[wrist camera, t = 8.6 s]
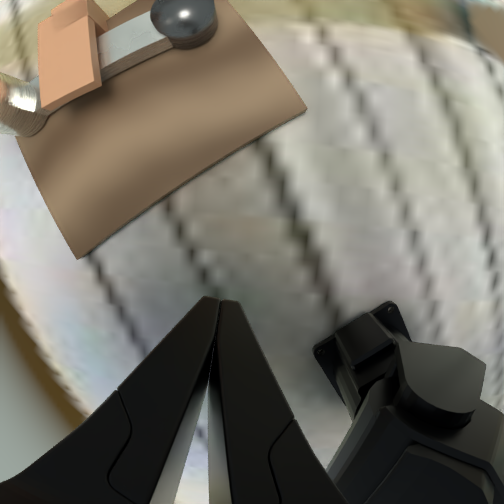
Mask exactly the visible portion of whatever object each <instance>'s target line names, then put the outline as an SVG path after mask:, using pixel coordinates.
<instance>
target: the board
mask: <svg viewBox="0 0 504 504" xmlns="http://www.w3.org/2000/svg"><path fill="white" fill-rule="evenodd" d="M155 1H156V0H137V1H135V2H134V3H132V4H131V5H129V6H128V7H126V8H124V9H123V10H121V11H120V12H118V13H117V14H115V15H114V16H113V17H111V18H110V19H108V20H107V21H106V22H107V26H108V30H109V31H110V30H112V29H113V28H115V27H117V26H119V25H121V24H123V23H125V22H127V21H129V20H131V19H133V18H135V17H138V16H140V15H142V14H144V13H146V12H148V11H151V7H152V5H153V3H154V2H155ZM214 3H215V8H216V13H217V17H218V26H217V29H216V31H215V33H214V34H213V36H212V37H211V38H210V39H209V40H208V41H206V42H205V43H203V44H201V45H199V46H196V47H193V48H188V49H179V48H174V47H173V48H170V49H168V50H165V51H163V52H161V53H159V54H156V55H154V56H152V57H150V58H148V59H146V60H143V61H141V62H139V63H137V64H135V65H133V66H131V67H129V68H127V69H125V70H123V71H121V72H119V73H118V74H116V75H114V76H112V77H110V78H108V79H106V80H105V81H103V82H102V86H101V87H98V88H96V89H94V90H92V91H90V92H87V93H85V94H83V95H81V96H79V97H77V98H75V99H73V100H71V101H69V102H68V103H66V104H65V105H63V106H62V107H60V108H59V109H57V110H56V111H54V112H53V113H51V114H50V115H49V116H48V117H47V119H46V121H45V123H44V125H43V126H42V127H41V129H40V130H39V131H38V132H37V133H35V134H34V135H32V136H29V137H21V136H15V137H16V140H17V142H18V145H19V147H20V149H21V152H22V154H23V156H24V159H25V161H26V163H27V166H28V168H29V170H30V172H31V174H32V177H33V179H34V181H35V183H36V185H37V187H38V189H39V191H40V193H41V195H42V197H43V199H44V201H45V203H46V205H47V207H48V209H49V211H50V213H51V215H52V217H53V219H54V220H55V222H56V224H57V226H58V228H59V230H60V231H61V233H62V235H63V237H64V239H65V240H66V242H67V244H68V246H69V247H70V249H71V251H72V252H73V254H74V256H75V257H76V259H77V260H78V259H80V258H82V257H84V256H85V255H87V254H88V253H89V252H90V251H92V250H93V249H94V248H96V247H97V246H98V245H99V244H101V243H102V242H103V241H105V240H106V239H107V238H109V237H110V236H111V235H113V234H114V233H115V232H117V231H118V230H119V229H121V228H122V227H123V226H125V225H126V224H127V223H129V222H130V221H132V220H133V219H134V218H136V217H137V216H139V215H140V214H141V213H143V212H144V211H146V210H147V209H148V208H150V207H151V206H153V205H154V204H156V203H157V202H158V201H160V200H161V199H163V198H164V197H166V196H167V195H169V194H170V193H172V192H173V191H175V190H176V189H178V188H179V187H181V186H182V185H184V184H185V183H187V182H188V181H190V180H191V179H193V178H194V177H196V176H197V175H199V174H200V173H202V172H203V171H205V170H207V169H208V168H210V167H211V166H213V165H215V164H216V163H218V162H219V161H221V160H223V159H224V158H226V157H227V156H229V155H231V154H232V153H234V152H236V151H237V150H239V149H241V148H242V147H244V146H246V145H247V144H249V143H251V142H252V141H254V140H256V139H258V138H259V137H261V136H263V135H265V134H266V133H268V132H270V131H272V130H273V129H275V128H277V127H279V126H280V125H282V124H284V123H286V122H288V121H289V120H291V119H293V118H295V117H297V116H299V115H301V114H302V113H304V112H305V111H306V110H307V109H308V108H307V107H306V105H305V104H304V102H303V101H302V99H301V98H300V96H299V95H298V93H297V92H296V90H295V89H294V87H293V86H292V84H291V83H290V81H289V80H288V78H287V77H286V76H285V74H284V73H283V71H282V70H281V68H280V67H279V66H278V64H277V63H276V61H275V60H274V59H273V57H272V56H271V55H270V53H269V52H268V51H267V49H266V48H265V47H264V45H263V44H262V43H261V41H260V40H259V39H258V37H257V36H256V35H255V34H254V32H253V31H252V30H251V28H250V27H249V26H248V25H247V23H246V22H245V21H244V20H243V18H242V17H241V16H240V15H239V14H238V12H237V11H236V10H235V9H234V8H233V6H232V5H231V4H230V3H229V2H228V0H214Z"/></svg>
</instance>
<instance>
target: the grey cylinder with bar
mask: <svg viewBox="0 0 504 504" xmlns="http://www.w3.org/2000/svg"><path fill="white" fill-rule="evenodd" d="M217 26H218V17H217V13H216V8H215V3H214V0H156V1H155V2H154V3H153V5H152V7H151V11H148V12H146V13H144V14H142V15H140V16H138V17H135V18H133V19H131V20H129V21H127V22H125V23H123V24H121V25H119V26H117V27H115V28H113V29H112V30H110V31H108V32H106V33H104V34H102V35H101V36H99V37H97V38H96V43H97V52H98V60H99V68H100V75H101V82H103V81H105V80H106V79H108V78H110V77H112V76H114V75H116V74H118V73H119V72H121V71H123V70H125V69H127V68H129V67H131V66H133V65H135V64H137V63H139V62H141V61H143V60H146V59H148V58H150V57H152V56H154V55H156V54H159V53H161V52H163V51H165V50H168V49H170V48H173V47H174V48H179V49H188V48H193V47H196V46H199V45H201V44H203V43H205V42H206V41H208V40H209V39H210V38H211V37H212V36H213V34H214V33H215V31H216V29H217ZM67 103H68V102H67ZM65 104H66V103H65ZM65 104H63V105H65ZM63 105H61V106H59V107H57V108H55V109H54V110H52V111H49V110H46V109H43V108H41V99H40V86H39V75H38V76H37V77H36V78H34V79H33V80H32V81H30V82H29V83H28V82H25V81H23V80H20V79H17V78H15V77H12V76H9V75H6V74H4V73H1V72H0V134H7V135H14V136H21V137H29V136H32V135H34V134H35V133H37V132H38V131H39V130H40V129H41V127H42V126H43V125H44V123H45V121H46V119H47V117H48V116H49V115H50V114H51V113H53V112H54V111H56V110H57V109H59V108H60V107H62V106H63Z"/></svg>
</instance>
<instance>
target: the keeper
mask: <svg viewBox="0 0 504 504" xmlns="http://www.w3.org/2000/svg"><path fill="white" fill-rule="evenodd" d="M51 14H52V16H50V17H49V18H47V19H45V20H44V21H42V22H40V23H39V24H38V69H39V86H40V99H41V108H43V109H46V110H49V111H52V110H54V109H55V108H57V107H59V106H61V105H63V104H65V103H67V102H69V101H71V100H73V99H75V98H77V97H79V96H81V95H83V94H85V93H87V92H90V91H92V90H94V89H96V88H98V87H101V86H102V82H101V75H100V68H99V60H98V52H97V43H96V38H97V37H99V36H101V35H102V34H104V33H106V32H108V31H109V30H108V26H107V22H106V21H107V20H108V19H110V18H109V17H108V16H107V15H106V13H105V12H104V11H103V10H102V9H101V8H100V7H99V6H98V5H97V4H96V3H95V2H94V1H93V0H66V1H64V2H63V3H61V4H60V5H58V6H57V7H55V8H53V9H52V10H51Z"/></svg>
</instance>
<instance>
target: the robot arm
mask: <svg viewBox="0 0 504 504" xmlns="http://www.w3.org/2000/svg"><path fill="white" fill-rule="evenodd" d="M220 304H221V306H220ZM390 307H392V310H391V311H389V312H388V309H389V308H390ZM219 311H220V312H219ZM218 317H219V318H218ZM217 323H218V324H217ZM216 329H217V331H216ZM215 336H216V337H215ZM214 342H215V343H214ZM213 348H214V350H213ZM320 349H322V350H323V351H322V352H321V353H317V352H318V350H320ZM313 354H314V357H315V358H316V360H317V361H318V363H319V364H320V366H321V368H322V369H323V371H324V372H325V374H326V376H327V377H328V379H329V380H330V382H331V384H332V385H333V387H334V388H335V390H336V391H337V393H338V395H339V396H340V398H341V399H342V401H343V403H344V404H345V406H346V407H347V409H348V412H349V414H350V417H351V419H352V422H353V423H352V425H351V427H350V429H349V430H348V432H347V434H346V436H345V438H344V439H343V441H342V443H341V445H340V446H339V448H338V450H337V452H336V453H335V455H334V457H333V458H332V460H331V462H330V463H329V465H328V467H327V468H326V470H325V469H324V468H323V466H322V465H321V463H320V462H319V460H318V459H317V457H316V456H315V454H314V452H313V450H312V449H311V447H310V445H309V443H308V441H307V440H306V438H305V436H304V434H303V432H302V430H301V428H300V426H299V424H298V422H297V420H296V419H294V415H293V413H292V411H291V409H290V407H289V404H288V402H287V400H286V398H285V396H284V394H283V392H282V390H281V388H280V386H279V384H278V382H277V380H276V378H275V376H274V374H273V372H272V370H271V368H270V366H269V364H268V361H267V359H266V357H265V355H264V353H263V351H262V349H261V347H260V345H259V343H258V340H257V338H256V336H255V334H254V332H253V330H252V328H251V326H250V323H249V321H248V319H247V317H246V315H245V313H244V311H243V308H242V306H241V304H240V303H239V302H238V301H233V300H227V299H223V300H222V301H221V300H220V299H219V298H216V297H210V296H203V297H202V298H201V299H200V300H199V301H198V302H197V303H196V304H195V305H194V307H193V308H192V309H191V310H190V311H189V312H188V313H187V314H186V315H185V316H184V317H183V318H182V319H181V320H180V321H179V322H178V324H177V325H176V326H175V327H174V328H173V329H172V330H171V331H170V332H169V333H168V334H167V335H166V336H165V337H164V338H163V339H162V341H161V342H160V343H159V344H158V345H157V346H156V347H155V348H154V349H153V350H152V351H151V352H150V353H149V354H148V355H147V357H146V358H145V359H144V360H143V361H142V362H141V363H140V364H139V365H138V366H137V367H136V368H135V369H134V370H133V371H132V373H131V374H130V375H129V376H128V377H127V378H126V379H125V380H124V381H123V382H122V383H121V384H120V385H119V386H118V388H117V390H118V391H117V390H115V391H114V392H113V393H112V394H111V395H110V396H109V397H108V398H107V399H106V400H105V401H104V402H103V403H102V404H101V405H100V406H99V407H98V408H97V409H96V410H95V411H94V412H93V413H92V414H91V415H90V416H89V417H88V418H87V419H86V420H85V421H84V422H83V423H82V424H80V425H79V426H78V427H77V428H76V429H75V430H73V431H72V432H71V433H70V434H69V435H68V436H66V437H65V438H64V439H63V440H61V441H60V442H59V443H58V444H56V445H55V446H54V447H53V448H51V449H50V450H49V451H48V452H47V453H45V454H44V455H43V456H41V457H40V458H39V459H38V460H36V461H35V462H34V463H33V464H31V465H30V466H29V467H27V468H26V469H25V470H23V471H22V472H21V473H19V474H17V475H16V476H14V477H12V478H10V479H8V480H6V481H3V482H1V483H0V504H174V500H175V497H176V493H177V490H178V486H179V483H180V479H181V476H182V473H183V469H184V466H185V462H186V459H187V455H188V452H189V448H190V445H191V442H192V438H193V435H194V431H195V428H196V424H197V421H198V418H199V414H200V411H201V407H202V404H203V400H204V397H205V393H206V390H207V386H208V475H209V504H504V414H503V413H502V412H500V411H499V410H497V409H495V408H494V407H492V406H491V405H489V404H487V403H486V402H484V401H482V400H481V399H480V396H481V391H482V386H483V381H484V375H485V370H486V364H485V363H484V362H482V361H481V360H479V359H478V358H476V357H474V356H473V355H471V354H470V353H468V352H467V351H465V350H463V349H462V348H458V347H449V346H441V345H432V344H424V343H417V342H412V341H411V338H410V336H409V333H408V331H407V328H406V326H405V324H404V321H403V319H402V316H401V314H400V312H399V309H398V307H397V305H396V304H395V303H394V302H392V301H388V302H386V303H385V304H383V305H381V306H380V307H378V308H377V309H375V310H374V311H372V312H370V313H366V314H364V315H363V316H361V317H359V318H358V319H356V320H354V321H353V322H351V323H350V324H348V325H346V326H345V327H343V328H341V329H339V330H338V331H336V333H335V334H334V335H332V336H331V337H329V338H327V339H325V340H324V341H322V342H320V343H318V344H317V345H315V346H314V348H313ZM212 355H213V356H212ZM211 361H212V363H211ZM210 368H211V369H210ZM209 374H210V376H209ZM208 380H209V384H208Z"/></svg>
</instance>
